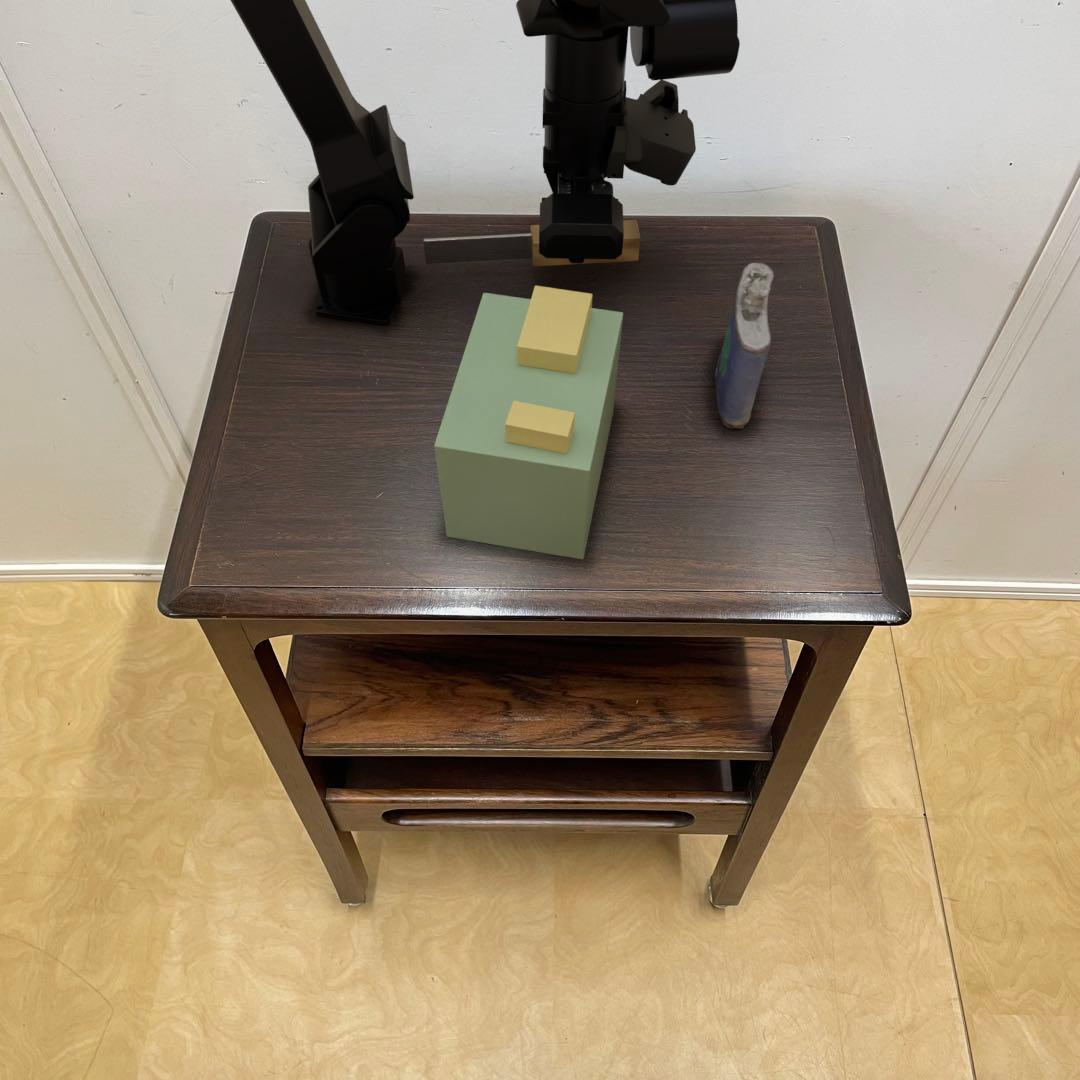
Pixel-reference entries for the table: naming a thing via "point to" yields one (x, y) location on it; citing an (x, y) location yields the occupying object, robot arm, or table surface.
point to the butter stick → (554, 329)
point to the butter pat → (540, 427)
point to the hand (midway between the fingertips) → (576, 250)
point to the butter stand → (515, 470)
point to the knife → (516, 248)
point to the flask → (744, 346)
